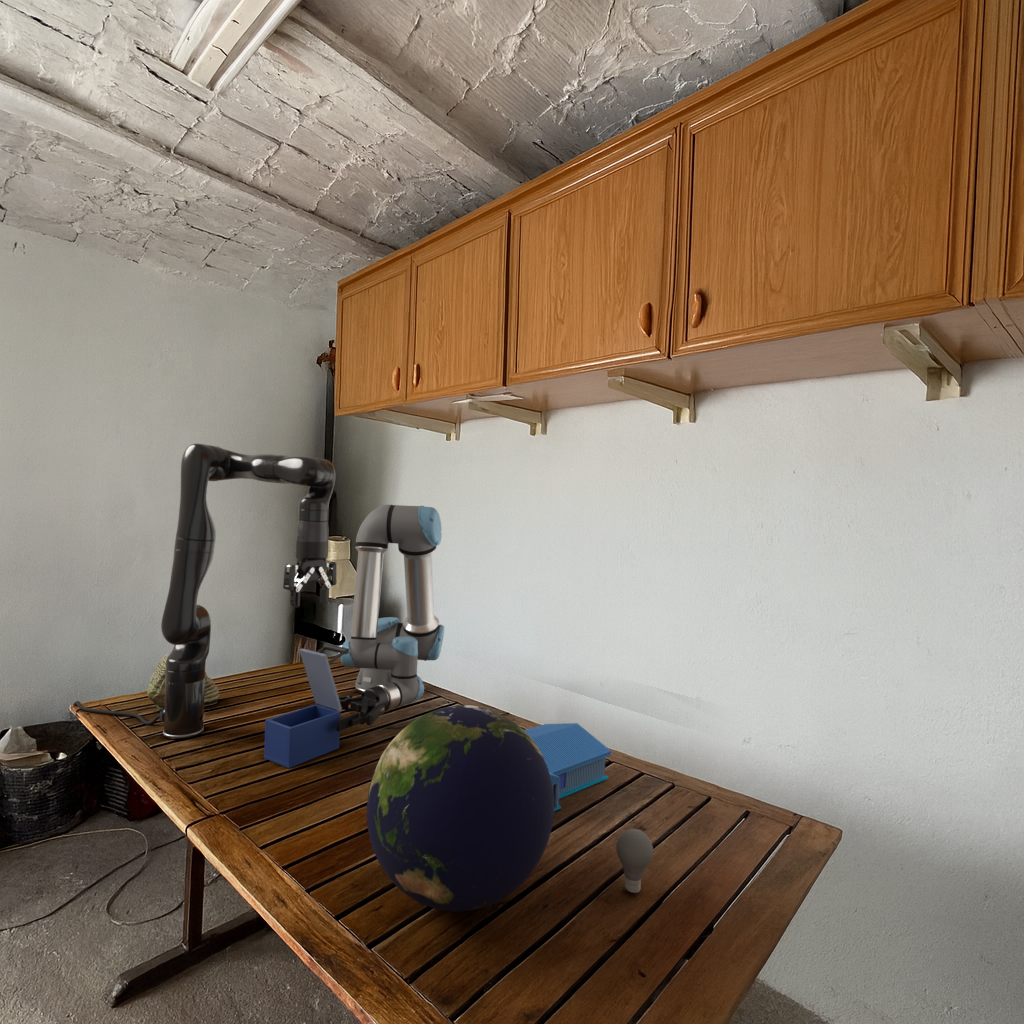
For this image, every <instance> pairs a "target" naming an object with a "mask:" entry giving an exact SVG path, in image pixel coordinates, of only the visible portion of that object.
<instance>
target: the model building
mask: <svg viewBox="0 0 1024 1024" xmlns="http://www.w3.org/2000/svg"><path fill="white" fill-rule="evenodd" d="M523 730H524V731H525V732H526V733H527V734H528V735H529V736H530V737H531V739H532V740H533V741H534V742H535V744H536V745H537V747H538V748H539V750H540V752H541V753H542V755H543V757H544V760H545V763H546V765H547V767H548V770H549V774H550V777H551V782H552V786H553V794H554V812H556V811H559V810H561V809H562V806H561V805H560V799H563V798H565V797H567V796H570V795H572V794H575V793H578V792H580V791H583V790H584V789H587V788H589V787H591V786H594V785H596V784H599V783H601V782H603V781H606V780H609V776H608V775H606V758H607V757H610V756H612V750H611V749H609V748H608V747H607V746H606V745H605V744H603V742H601V741H600V740H598V739H597V738H596V737H595V736H594V735H592V734H591V733H590V732H589V731H588V730H586V729H585V728H584V727H583V726H581V725H580V724H579V723H578V722H572V723H571V722H568V723H564V722H563V723H544V724H540V725H537V726H533V727H531V728H527V729H523Z"/></svg>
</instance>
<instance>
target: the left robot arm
mask: <svg viewBox="0 0 1024 1024" xmlns="http://www.w3.org/2000/svg"><path fill="white" fill-rule="evenodd" d="M237 479H245V480H253V481H258V482H264V483H272V484H283V485H284V484H285V485H286V484H290V485H297V486H303V487H308V491H307V494H306V495H304V496H303V497H301V498H300V499H299V502H298V511H297V514H298V515H297V526H296V534H295V535H296V536H295V537H296V539H295V558H296V564H292V563H291V564H290V563H286V564H285V565H284V572H283V582H282V583H283V585H282V588H283V590H287V591H289V593H290V595H289V597H290V599H289V602H290V605H291V607H292V608H301V607H300V606H301V592H300V591H301V590H302V588H303V586H304V585H306V584H307V582H312V581H316V582H317V583H318V584H319V586H320V588H319V603H320V604H324V605H327V604H328V602H329V601H330V589H331V587H333V586H336V585H337V582H338V581H337V562H336V561H331V560H327V558H328V556H329V537H330V536H329V535H330V532H329V531H330V529H329V528H330V527H329V504H330V500H331V498H332V494H333V492H334V487H335V483H336V470H335V467H334V465H333V463H332V462H331V461H330V460H328V459H325V458H320V457H312V456H289V455H283V454H270V453H265V454H264V453H261V454H259V453H258V454H244V453H240V452H235V451H232V450H228V449H225V448H223V447H220V446H217V445H211V444H205V443H192V444H190V445H188V447H186V449H185V450H184V452H183V454H182V458H181V463H180V494H179V496H180V498H179V509H178V518H177V527H176V534H175V538H174V545H173V546H174V547H173V558H172V566H171V573H170V580H169V589H168V593H167V596H166V600H165V601H166V602H165V605H164V609H163V613H162V618H161V622H160V629H161V630H160V631H161V634H162V636H163V638H164V639H165V641H166V642H167V643H169V644H171V645H173V647H172V650H171V652H170V653H169V654H168V655H169V656H168V657H167V659H166V674H165V705H164V710H162V711H159V714H158V715H156V716H155V717H153V719H152V720H150V721H149V720H146V719H145V718H144V716H142V715H140V714H138V713H135V712H128V711H117V710H108V709H98V708H92V707H86V706H84V705H82V703H81V702H80V701H79V700H75V702H73V704H72V706H73V707H76V706H77V708H79V709H80V710H82V711H84V712H89V713H96V714H105V715H113V716H126V717H133V718H136V719H138V720H139V721H140V722H141V723H142V724H144V725H146V726H147V725H148V726H151V725H154V724H155V723H156V722H157V721H158V720H159V721H160V722H161V723H163V730H162V737H164V738H166V739H169V740H185V739H190V738H191V739H192V738H194V737H197V736H199V735H202V734H203V732H204V730H205V729H204V726H205V725H204V722H205V721H204V719H205V718H206V713H205V706H204V693H205V672H206V664H207V663H206V662H207V658H208V655H209V653H210V647H211V633H212V619H211V616H210V613H209V611H208V610H207V608H205V607H204V606H203V605H200V604H198V597H199V591H200V589H201V585H202V583H203V581H204V580H205V578H206V575H207V573H208V571H209V569H210V567H211V565H212V562H213V559H214V554H215V548H216V539H217V532H216V531H217V530H216V526H215V524H214V521H213V517H212V515H211V512H210V510H209V507H208V502H207V501H208V500H207V494H208V493H207V492H208V483H209V482H219V481H227V480H237Z"/></svg>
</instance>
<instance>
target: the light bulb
mask: <svg viewBox="0 0 1024 1024" xmlns="http://www.w3.org/2000/svg"><path fill="white" fill-rule="evenodd" d="M615 849H616V854H617V857H618V859H619V861H620V863H621V865H622V867H623V873H624V874H623V875H624V876H625V878H624V888H625V890H627V891H628V892H630V893H634V894H635V893H639V892H640V891H641V889H642V887H641V886H642V879H643V877H644V875H645V871H646V868H647V867H648V866H649V864H650V863H651V861H652V859H653V855H654V847H653V843H652V841H651V838H649V836H648V835H647V834H646V833H645V832H643V831H642V830H641V829H636V828H629V829H627V830H625V831H623V832H622V833H621V834H620V835H619V837H618V839H617V841H616V847H615Z"/></svg>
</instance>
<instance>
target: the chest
mask: <svg viewBox="0 0 1024 1024" xmlns="http://www.w3.org/2000/svg"><path fill="white" fill-rule="evenodd" d="M314 704H315V705H313V704H311V705H312V706H310V705H308V706H309V707H307V706H305V707H306V708H303V707H301V708H302V709H301V708H300V709H295V710H292V711H289V712H287V713H283V714H280V715H277V716H276V715H275V716H274V717H270V718H267V719H265V723H264V747H263V749H264V750H263V759H265V760H268V761H270V762H272V763H275V764H277V765H280V766H282V767H285V768H287V769H290V768H293V767H295V766H298V765H300V764H303V763H306V762H309V761H310V760H313V759H316V758H318V757H320V756H321V757H322V756H324V755H326V754H328V753H331V752H334V751H336V750H339V749H340V736H341V731H337V720H339V719H341V713H342V712H341V710H340V711H339V710H333V709H330V708H327V707H324V706H321V705H317V704H316V703H314Z"/></svg>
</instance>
